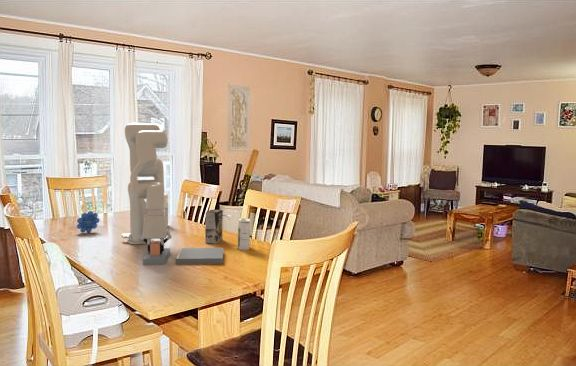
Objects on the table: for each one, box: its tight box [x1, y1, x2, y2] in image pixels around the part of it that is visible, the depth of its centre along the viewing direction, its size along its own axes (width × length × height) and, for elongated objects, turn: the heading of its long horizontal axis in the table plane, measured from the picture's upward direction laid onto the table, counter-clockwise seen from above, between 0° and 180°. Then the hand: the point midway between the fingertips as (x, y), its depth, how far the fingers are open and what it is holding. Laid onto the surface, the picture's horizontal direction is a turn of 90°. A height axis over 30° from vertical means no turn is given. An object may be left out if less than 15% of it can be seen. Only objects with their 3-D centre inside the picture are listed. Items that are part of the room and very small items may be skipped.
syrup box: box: [237, 217, 251, 251], centre depth 227 cm, size 6×6×14 cm
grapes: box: [76, 210, 100, 233], centre depth 254 cm, size 12×7×12 cm, turn 121°
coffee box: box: [204, 209, 224, 244], centre depth 240 cm, size 9×6×16 cm
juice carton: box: [164, 193, 169, 226], centre depth 275 cm, size 8×9×19 cm
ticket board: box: [174, 247, 224, 265], centre depth 208 cm, size 20×18×3 cm
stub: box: [142, 240, 171, 266], centre depth 205 cm, size 9×18×7 cm, turn 7°
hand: (155, 252), depth 206 cm, fingers closed on stub, 4 cm apart
